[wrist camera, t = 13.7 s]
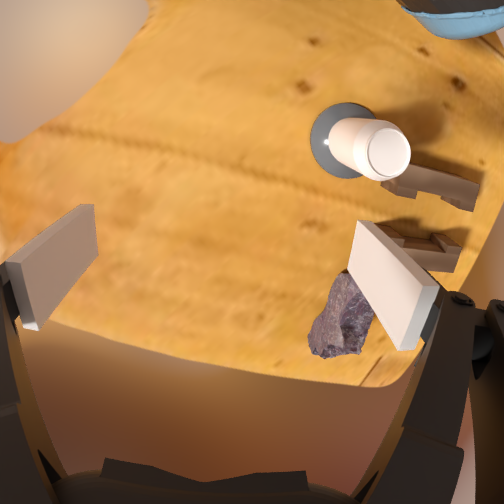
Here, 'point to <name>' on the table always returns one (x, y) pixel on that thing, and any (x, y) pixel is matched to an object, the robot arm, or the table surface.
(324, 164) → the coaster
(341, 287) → the stone
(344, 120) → the beverage can
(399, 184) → the notched wooden bars
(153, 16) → the table surface
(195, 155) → the table surface
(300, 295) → the table surface
